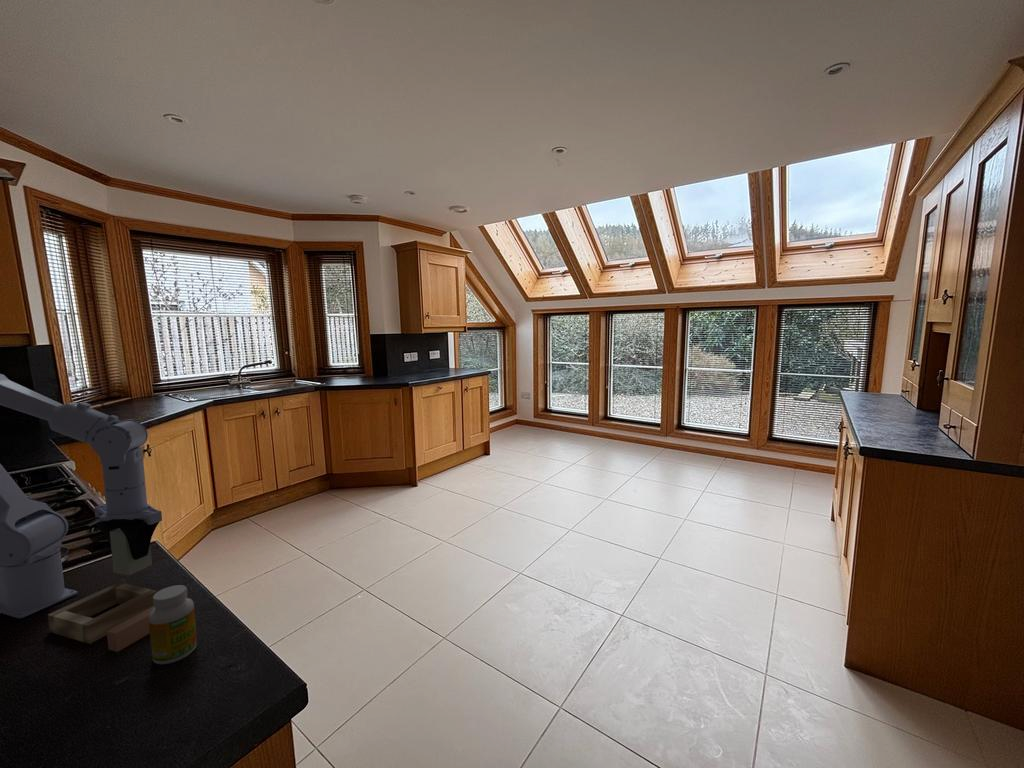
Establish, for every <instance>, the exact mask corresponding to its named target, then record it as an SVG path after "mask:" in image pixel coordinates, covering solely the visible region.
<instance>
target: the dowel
mask: <svg viewBox="0 0 1024 768" xmlns="http://www.w3.org/2000/svg"><path fill="white" fill-rule="evenodd" d="M110 541H111V545H110V548H111V560H112V570H113V573H114V574H120V575H125V576H131V575H134V574H136V573H137V572H139V571H142V570H144V569H146V568H149V567H150V566H152V565H153V562H152V560H153V558H152V548H151V547H152V546H151V545H150V546H149V551H148V555H147V556H144V557H142V558H140V559H138V560H134V559H133V557H132V555H131V551H130V547H129V543H128V540H127V538H126V536H125V535H124V533H123V532H122V531H121V530H120V528H118V529H115V530H112V531H110Z"/></svg>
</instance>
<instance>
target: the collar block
mask: <svg viewBox="0 0 1024 768" xmlns="http://www.w3.org/2000/svg"><path fill="white" fill-rule="evenodd" d="M157 592H158V590H155V589H150V588H146V587H142V586H137V585H133V584H128V583H123V582H121V581H119V582H117V583H115V584H112V585H110V586H108V587H106V588H103V589H101V590H100V591H97V592H95V593H92V594H90V595H87V596H85V597H84V598H81V599H79V600H76V601H75V602H72V603H70V604H68V605H66V606H64V607H61V608H59V609H57V610H55V611H52V612H50V613H48V614H47V618H48V628H49V633H52V634H55V635H58V636H62V637H66V638H68V639H72V640H76V641H79V642H83V643H86V644H89V645H91V644H93V643H94V642H96V641H98V640H100V639H102V638H104V637H107V631H108V630H110V629H112V628H113V627H115V626H117V625H119V624H121V623H123V622H125V621H127V620H128V619H130V618H132V617H134V616H136V615H138V614H140V613H141V612H143V611H145V610H147V609H149V608H151V607H153V606H154V605H153V596H154V595H155V594H156V593H157ZM117 604H118V606H115V605H117ZM113 606H115V607H113ZM111 607H113V608H111ZM109 608H111V609H109ZM107 609H109V610H108V611H106V612H103V613H102V614H99V615H98V616H96V617H94V618H93V617H92V616H95V615H96V614H98V613H101V612H102V611H105V610H107Z"/></svg>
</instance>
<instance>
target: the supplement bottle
mask: <svg viewBox="0 0 1024 768" xmlns="http://www.w3.org/2000/svg"><path fill="white" fill-rule="evenodd" d="M153 605H154V607H155V608H154V609H153V610H152V611H151V612H150V614H149V628H150V633H149V637H150V646H151V647H150V648H151V658H152V661H153V663H155V664H157V665H169V664H172V663H175V662H176V663H177V662H178V661H180V660H182V659H185V658H187V657H188V656H189V655H190V654H192V652H194V651H195V649H196V648H197V645H198V638H197V625H196V614H195V604H194V601H193V600H192V598H190V597H188V589H187V587H186V586H185V585H182V584H179V585H178V584H177V585H171V586H168V587H165V588H162V589H160V590H157V593H156V594H155V595H154V596H153Z"/></svg>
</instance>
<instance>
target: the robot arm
mask: <svg viewBox="0 0 1024 768" xmlns="http://www.w3.org/2000/svg"><path fill="white" fill-rule="evenodd" d="M0 406H2V407H5V408H8V409H11V410H14V411H16V412H21V413H23V414H26V415H29V416H32V417H36V418H38V419H41V420H43V421H47V422H48V426H49V428H50V430H51V431H53V432H56V433H58V434H61V435H63V436H66V437H69V438H71V439H73V440H77V441H79V442H83V443H85V444H87V445H89V446H91V449H92V450H93V451H94V453H96V455H98V457H99V458H100V464H101V467H102V479H103V488H104V499H105V500H104V501H105V503H104V504H101V505H98V506H97V505H96V506H94V516H95V518H99V520H100V521H99V522H97V523H96V528H97V529H98V530H100V531H101V532H102V534H103V535H104V536H105V538H106V540H108V543H109V545H110V546H111V541H110V531H112V530H115V529H118V528H120V530H121V531H122V532H123V533H124V535H125V536H126V538H127V540H128V543H129V547H130V551H131V555H132V557H133V559H134V560H138V559H140V558H142V557H144V556H147V555H148V551H149V546H151V542H152V538H153V536H154V533H155V531H156V530H157V529H156V528H157V527H158V525H159V523H160V522H162V521H163V515H162V510H160V509H156V508H155V507H153V506H152V505H151V504H148V499H147V490H146V489H147V488H146V474H145V462H144V456H143V454H144V453H143V446H144V445H145V444H146V442H147V440H148V437H149V434H148V430H147V428H146V427H145V426H144V425H143V423H141V422H139V421H137V420H136V419H130V418H129V419H124V420H120V419H119V416H118V415H115V414H112V415H109V414H107V413H104V412H102V411H98V410H96V409H94V408H92V407H91V406H92V404H90V403H88V402H85V401H83V402H76V401H72V402H71V401H70V402H67V403H64V404H62V403H60V402H58V401H57V400H53V399H52V398H50V397H48V396H45V395H43V394H41V393H38V392H36V391H34V390H32V389H30V388H28V387H25V386H24V385H21V384H19V383H17V382H15V381H12V380H10V379H9V378H8V377H7V376H6V375H5V374H2V373H0ZM68 531H69V523H68V519H67V518H66V517H64V515H62V514H61V513H59V512H57V511H54V510H53V509H52V508H51V507H50V506H49V505H48V503H46V502H42V501H38V500H33V499H31V498H28V497H27V495H26V494H25V493H24V491H23V490H22V489H21V488H20V486H19V485H18V484H17V482H16V481H15V480H14V479H13V478H12V476H11V475H10V474H9V473H8V471H7V470H6V468H4V466H3V465H2V464H1V463H0V614H2V613H3V614H2V615H5V614H6V616H10V617H13V618H15V619H23V618H25V617H28V616H30V615H32V614H35V613H37V612H40V611H42V610H44V609H47V608H49V607H51V606H52V605H55V604H57V603H59V602H62V601H65V600H66V599H69V598H70V597H73V596H75V595H77V594H78V591H77V590H74V589H70V588H66V587H65V580H64V579H65V578H64V573H63V572H64V571H63V564H62V554H61V546H62V539H64V538H65V536H66V535H67V533H68Z"/></svg>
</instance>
